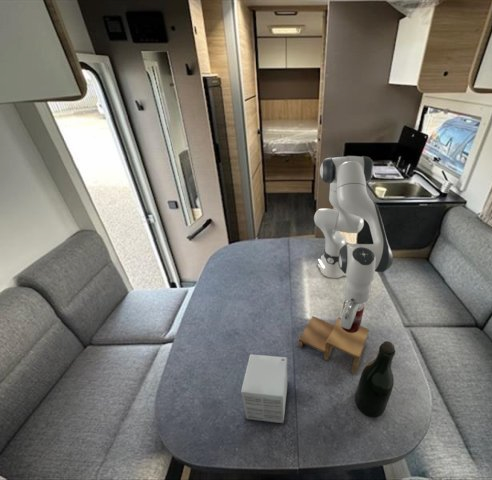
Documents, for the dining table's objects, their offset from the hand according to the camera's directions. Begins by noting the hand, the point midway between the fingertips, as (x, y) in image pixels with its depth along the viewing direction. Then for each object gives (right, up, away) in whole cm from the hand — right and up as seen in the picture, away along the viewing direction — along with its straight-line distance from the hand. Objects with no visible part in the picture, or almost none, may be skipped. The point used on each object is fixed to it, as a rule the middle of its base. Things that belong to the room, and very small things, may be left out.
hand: (351, 317), depth 98 cm
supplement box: (-31, -29, -4) cm, 42 cm away
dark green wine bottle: (+5, -29, -5) cm, 30 cm away
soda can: (0, -4, +3) cm, 5 cm away
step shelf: (-5, -16, +14) cm, 22 cm away
